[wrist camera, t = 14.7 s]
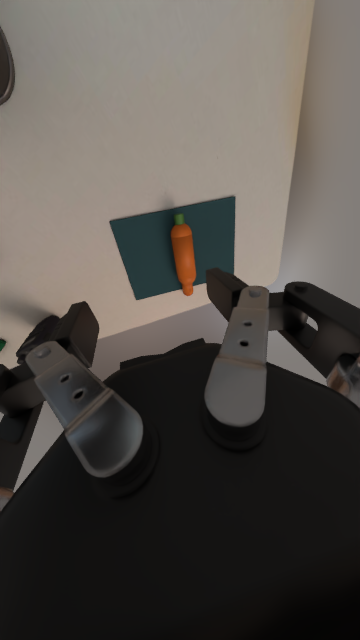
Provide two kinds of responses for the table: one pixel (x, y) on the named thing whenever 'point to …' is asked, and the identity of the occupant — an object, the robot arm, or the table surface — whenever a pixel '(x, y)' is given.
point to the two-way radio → (37, 337)
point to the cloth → (157, 252)
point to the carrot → (183, 253)
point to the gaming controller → (2, 344)
